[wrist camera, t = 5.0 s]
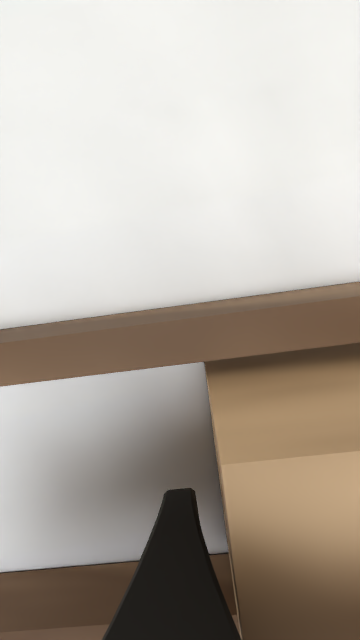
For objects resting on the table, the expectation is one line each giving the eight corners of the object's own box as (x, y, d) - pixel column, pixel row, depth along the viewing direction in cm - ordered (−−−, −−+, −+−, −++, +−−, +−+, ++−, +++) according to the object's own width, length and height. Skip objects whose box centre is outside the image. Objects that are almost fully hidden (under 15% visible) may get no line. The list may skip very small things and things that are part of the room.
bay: (491, 555, 11) (555, 618, 9) (-27, 598, 12) (-67, 662, 10) (530, 258, 9) (629, 261, 7) (-127, 346, 10) (-204, 369, 8)
